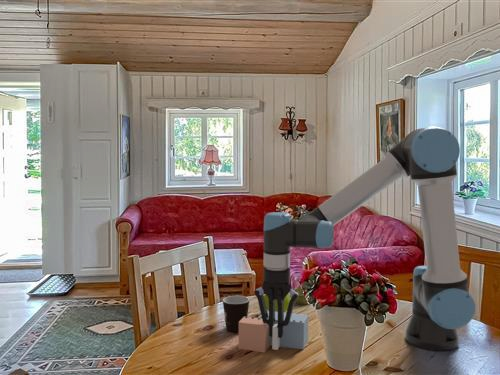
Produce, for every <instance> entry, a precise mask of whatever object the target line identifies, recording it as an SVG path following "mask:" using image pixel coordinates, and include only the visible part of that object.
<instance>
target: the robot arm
mask: <svg viewBox="0 0 500 375" xmlns="http://www.w3.org/2000/svg"><path fill="white" fill-rule="evenodd" d="M460 149H461V147H460V143H459V141H458V138H457V137H456V136H455V134H454V133H453V132H451V131H450V130H448V129H445V128H443V127H440V126H427V127H423V128H417V129H414V130H413V131H411V132H409V133H408V134H407V135H406V136H404V137H403V139H401V140H400V141H399V142H398V143H396V144H395V145H394V146H393V147H392V148H390V149H389V150H387V151H386V153H385V154H386V155H385V157H384V158H383V159H381V160H380V161H378V162H377V163H375V165H373V166H372V167H370V168H369V169H368V170H366V171H364V173H362V174H360V175H359V176H358V177H356V178H355V179H354V180H352V181H351V182H350V183H348V184H347V185H345V186H344V187H343V188H341V189H340V190H339V191H338V192H336V193H335V194H333V195H331V197H329V198H328V199H327V200H325V201H323V202H322V203H321V204H319V205H318V206H317V207H316V208H314V209H313V210H312V211H310V212H308V213H305V214H304V215H303V216H302V217H301V218H300V220H294V219H292V218H291V214H290V213H288V212H280V211H277V212H275V211H273V212H268V213H266V214H265V215H264V219H263V278H262V279H263V282H262V284H261V287H258V288H256V289H255V290H254V291H253V294H254V295H255V297H256V299H257V302H258V306H259V311H260V315H261V316H262V320H263V323H266V324H268V325H269V336H270V337H272V345H271V346H272V347H271V349H272V350H276V351H277V350H279V348H280V338H282V336H283V326H287V325H288V324H289V322H290V319H291V315H292V313H293V310H294V306H295V304H296V303H295V300H296V298H297V297H298V295H299V292H295V291H294V289H292V284H291V268H290V266H291V248H314V249H325V248H326V249H329V248H331V247H333V245H334V226H336V225H337V224H339V223H340V222H341V221H343V220H344V219H345V218H347V217H348V216H349V215H351V214H352V213H354V212H356V210H358V209H359V208H361V207H362V206H363V205H365V204H367V203H368V202H369V201H370V200H371V199H373V198H374V197H376V196H378V194H381V193H382V192H383V191H384V190H386V189H387V188H388V187H390V186H392V185H393V184H395V182H397V181H398V180H399V179H401V178H408V177H410V178H411V179H410V180H411V181H413V182H414V183H415V184H416V185H417V190H418V191H417V192H418V199H419V209H420V218H421V227H422V237H423V245H424V246H423V247H424V257H425V265H418V266H415V268H414V269H413V275H412V303H411V304H412V306H411V307H412V312H411V316H410V318H409V322H408V323H407V326H406V329H405V340H406V341H407V342H408V343H409V344H411V345H412V346H414V347H417V348H421V349H423V350H429V351H437V352H438V351H439V352H444V351H443V350H446V351H452V350H454V348H455V349H456V348H458V346H459V341H460V340H459V334H458V332H457V331H458V330H457V329H461V328H463V327H465V326H467V325H468V324H469V323H470V322H471V321H472V320H473V319H474V316H475V313H476V303H475V300H474V298H473V296H472V294H470V291H469V282H468V275H467V273H466V272H465V271H463V270H462V269H461V262H460V253H459V245H458V244H459V243H458V232H457V224H456V223H457V222H456V215H455V214H456V213H455V203H454V194H453V186H452V183H453V181H454V180H455V178H457V176H458V173H457V162H458V159H459V157H460V151H461V150H460ZM288 293H289V296H290V301H289V305H288V309H287V311H286V312H285V313H286V317H285V320H284V298H285V297H286V296H287V294H288ZM265 294H266V295H267V296H268V298H269V316H268V312H267V311H268V310H267V308H266V303H265V299H264V296H265ZM275 300H277V304H278V324H275ZM451 349H452V350H451Z"/></svg>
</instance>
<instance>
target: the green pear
mask: <svg viewBox="0 0 500 375" xmlns="http://www.w3.org/2000/svg"><path fill="white" fill-rule="evenodd" d="M299 278H300V276H298V277H297V278H296V279H295V280H296V281H297V282H298V283H299ZM293 290H294V291H295V292H299V295H298V297H297V298H296V300H295V303H294V304H297V305H303V306H304V305H305V306H306V305H309V304H308V303H307V300H306V298H305V296H304V293H303V291H302V289H301V287H300V285H299V284H298V285H297V286H296V287H294V288H293Z"/></svg>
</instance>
